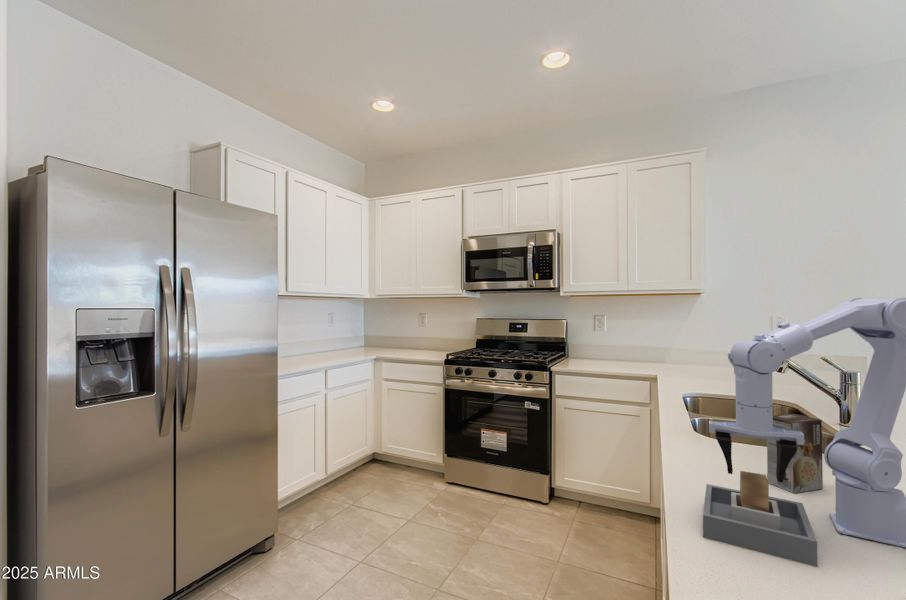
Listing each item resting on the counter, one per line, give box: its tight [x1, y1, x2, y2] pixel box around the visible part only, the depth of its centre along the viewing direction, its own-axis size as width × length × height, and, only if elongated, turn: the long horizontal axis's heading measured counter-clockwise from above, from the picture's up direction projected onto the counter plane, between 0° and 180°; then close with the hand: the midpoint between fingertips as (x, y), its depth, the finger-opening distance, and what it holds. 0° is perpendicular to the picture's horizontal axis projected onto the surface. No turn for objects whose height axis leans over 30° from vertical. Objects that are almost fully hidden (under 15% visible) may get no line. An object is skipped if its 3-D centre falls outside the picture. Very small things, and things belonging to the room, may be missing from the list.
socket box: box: [702, 483, 818, 567], centre depth 80 cm, size 16×16×5 cm
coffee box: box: [766, 413, 824, 494], centre depth 99 cm, size 9×6×16 cm
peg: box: [739, 470, 770, 513], centre depth 80 cm, size 4×4×9 cm
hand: (754, 476), depth 80 cm, fingers open, 7 cm apart
